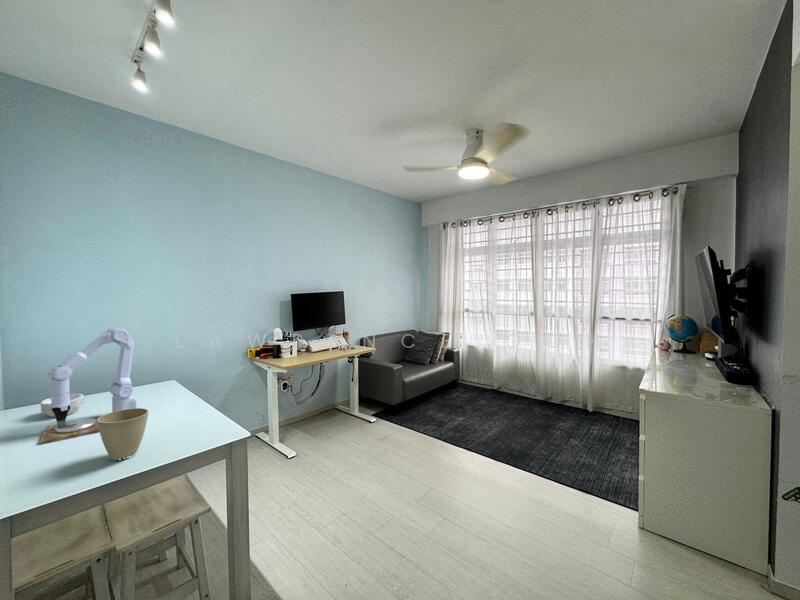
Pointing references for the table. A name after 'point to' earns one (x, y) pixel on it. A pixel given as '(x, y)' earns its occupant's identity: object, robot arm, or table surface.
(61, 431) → the dial
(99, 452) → the table surface
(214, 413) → the table surface
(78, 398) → the paper bowls
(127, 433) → the plant pot
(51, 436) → the plate
